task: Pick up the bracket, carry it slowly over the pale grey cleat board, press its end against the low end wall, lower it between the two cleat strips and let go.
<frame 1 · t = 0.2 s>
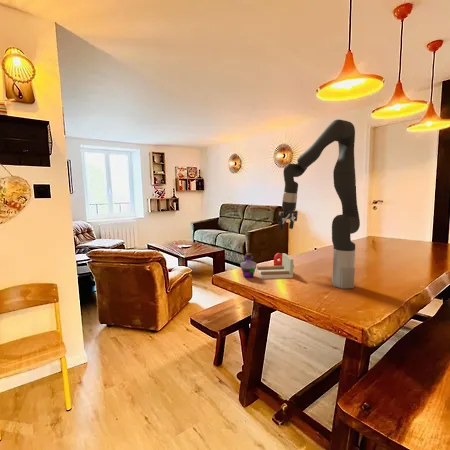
hand: (286, 229, 160), 22 cm above the table, tool pointing down, fingers open, 8 cm apart
bracket: (283, 266, 168), on the table
cleat board: (273, 274, 152), on the table
potion bottle: (248, 276, 148), on the table
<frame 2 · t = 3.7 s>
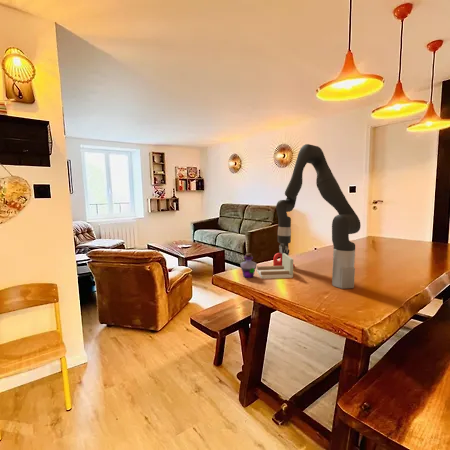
hand: (283, 263, 168), 1 cm above the table, tool pointing down, fingers closed on bracket
bracket: (284, 267, 166), on the table, touching gripper
everything else where it was.
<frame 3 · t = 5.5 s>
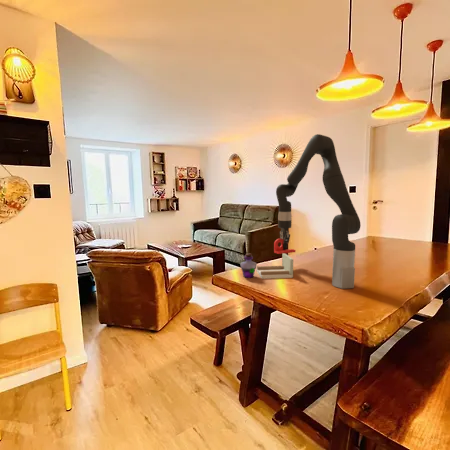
hand: (284, 249, 166), 10 cm above the table, tool pointing down, fingers closed on bracket
bracket: (285, 252, 164), point 8 cm above the table, touching gripper
everything else where it was.
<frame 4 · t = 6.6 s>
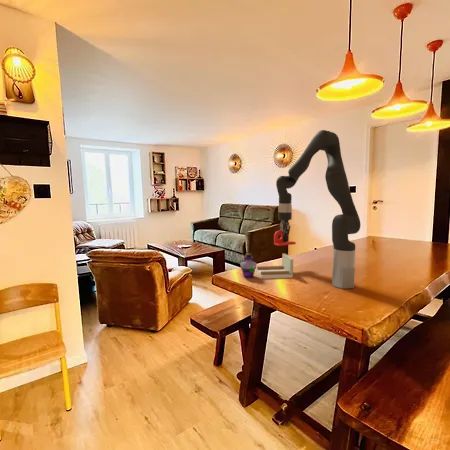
hand: (284, 241, 165), 15 cm above the table, tool pointing down, fingers closed on bracket
bracket: (285, 244, 163), point 13 cm above the table, touching gripper
everything else where it was.
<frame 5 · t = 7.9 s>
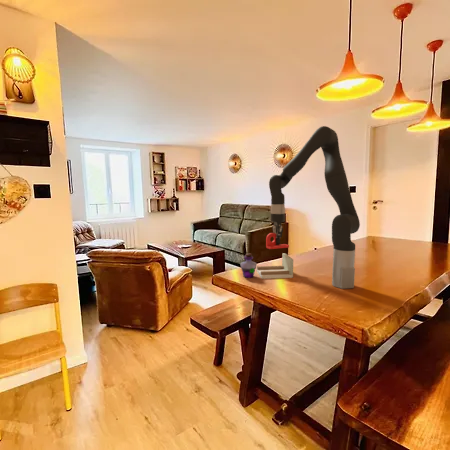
hand: (277, 244, 156), 15 cm above the table, tool pointing down, fingers closed on bracket
bracket: (277, 247, 155), point 13 cm above the table, touching gripper
everything else where it was.
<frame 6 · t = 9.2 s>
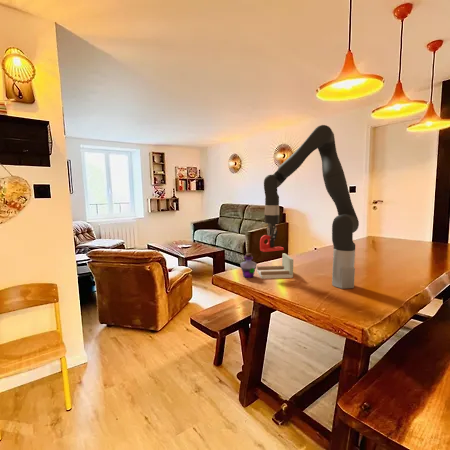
hand: (271, 246, 150), 15 cm above the table, tool pointing down, fingers closed on bracket
bracket: (272, 250, 148), point 13 cm above the table, touching gripper
everything else where it was.
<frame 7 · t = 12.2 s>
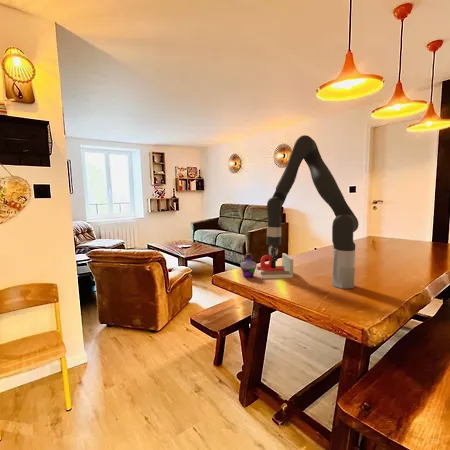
hand: (272, 267, 152), 4 cm above the table, tool pointing down, fingers closed on bracket, 2 cm apart
bracket: (272, 270, 150), point 2 cm above the table, touching cleat board, gripper
everything else where it was.
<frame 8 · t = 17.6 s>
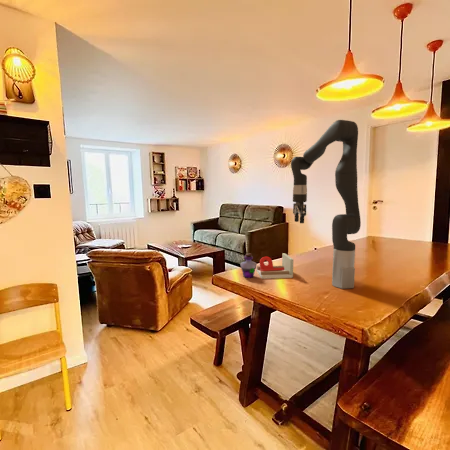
hand: (299, 222, 161), 26 cm above the table, tool pointing down, fingers open, 8 cm apart
bracket: (272, 271, 150), point 2 cm above the table, touching cleat board
everything else where it was.
at the end: bracket 2.0 cm off-centre on the cleat board, point 2.1 cm above the cleat board's base; bracket tilted 21°; the gripper is holding nothing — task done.
